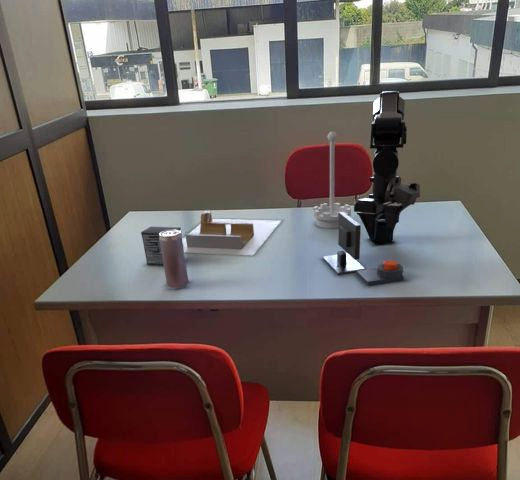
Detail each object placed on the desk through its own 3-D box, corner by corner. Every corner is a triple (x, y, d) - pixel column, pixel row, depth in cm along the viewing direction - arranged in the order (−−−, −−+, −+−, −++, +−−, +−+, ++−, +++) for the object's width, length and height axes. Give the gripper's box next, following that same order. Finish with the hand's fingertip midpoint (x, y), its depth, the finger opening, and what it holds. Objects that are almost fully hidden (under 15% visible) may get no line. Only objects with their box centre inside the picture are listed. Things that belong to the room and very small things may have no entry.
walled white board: (166, 251, 169) (163, 229, 165) (206, 218, 197) (204, 198, 193) (252, 255, 161) (250, 231, 157) (281, 220, 189) (280, 199, 185)
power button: (393, 265, 140) (394, 259, 139) (399, 270, 137) (400, 263, 136) (381, 267, 139) (381, 261, 139) (386, 272, 136) (387, 265, 136)
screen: (343, 244, 153) (343, 212, 148) (359, 259, 142) (361, 225, 137) (334, 245, 153) (334, 213, 148) (350, 260, 142) (351, 226, 137)
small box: (186, 259, 161) (181, 226, 156) (177, 267, 156) (171, 233, 151) (156, 257, 165) (150, 225, 159) (146, 265, 159) (140, 232, 154)
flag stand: (353, 227, 177) (355, 133, 162) (314, 230, 178) (313, 136, 162) (348, 216, 188) (350, 127, 173) (312, 218, 189) (310, 130, 173)
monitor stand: (348, 255, 155) (348, 243, 153) (365, 271, 144) (365, 258, 142) (322, 259, 154) (322, 246, 152) (337, 275, 143) (337, 262, 141)
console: (393, 269, 144) (393, 259, 143) (406, 280, 137) (407, 269, 136) (356, 274, 143) (356, 264, 141) (368, 286, 136) (368, 275, 134)
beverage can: (168, 281, 147) (159, 230, 139) (189, 279, 147) (181, 228, 140) (166, 290, 142) (157, 237, 134) (188, 288, 142) (180, 235, 134)
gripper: (396, 177, 117) (391, 247, 123) (433, 170, 129) (427, 233, 135) (353, 176, 124) (351, 241, 130) (392, 169, 136) (389, 229, 142)
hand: (381, 236), depth 134 cm, fingers open, 9 cm apart
